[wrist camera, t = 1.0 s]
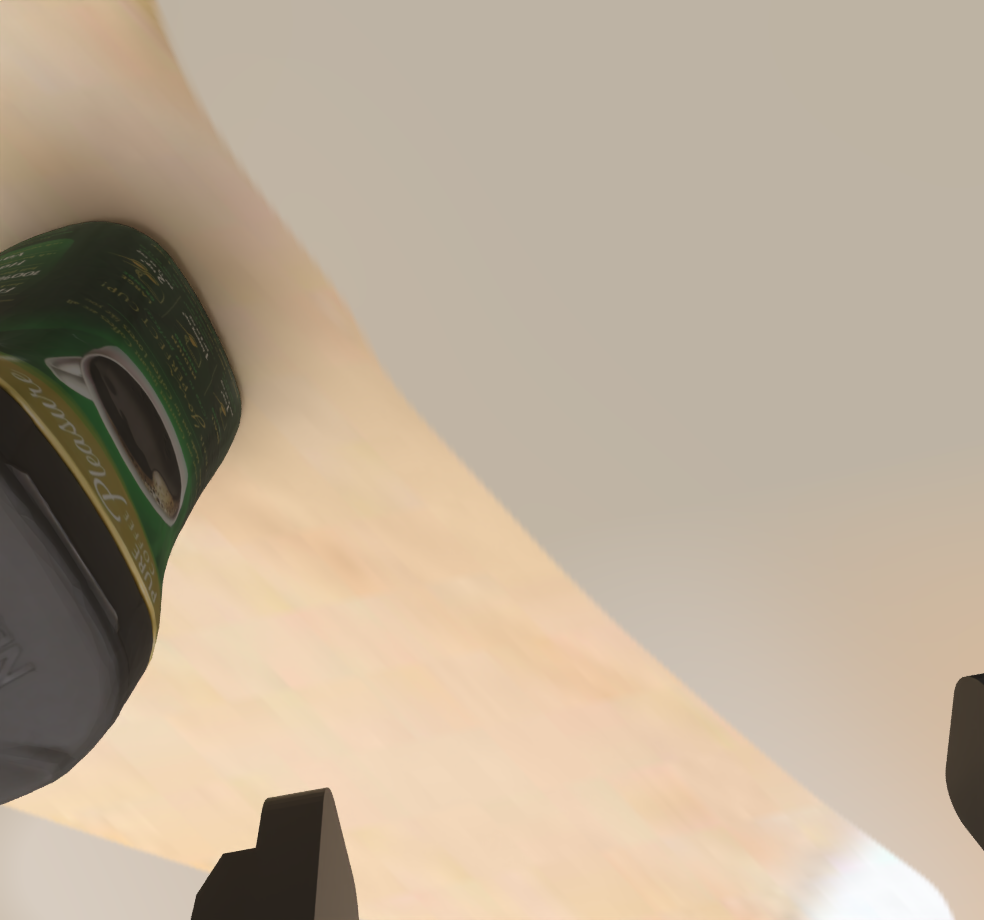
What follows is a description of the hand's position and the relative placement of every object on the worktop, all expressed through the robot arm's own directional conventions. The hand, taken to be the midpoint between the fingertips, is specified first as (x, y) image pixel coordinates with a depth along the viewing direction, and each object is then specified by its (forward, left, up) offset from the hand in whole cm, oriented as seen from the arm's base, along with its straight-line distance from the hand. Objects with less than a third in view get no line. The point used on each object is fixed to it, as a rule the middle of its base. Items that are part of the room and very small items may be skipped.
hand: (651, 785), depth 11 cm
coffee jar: (0, -13, -25) cm, 28 cm away
